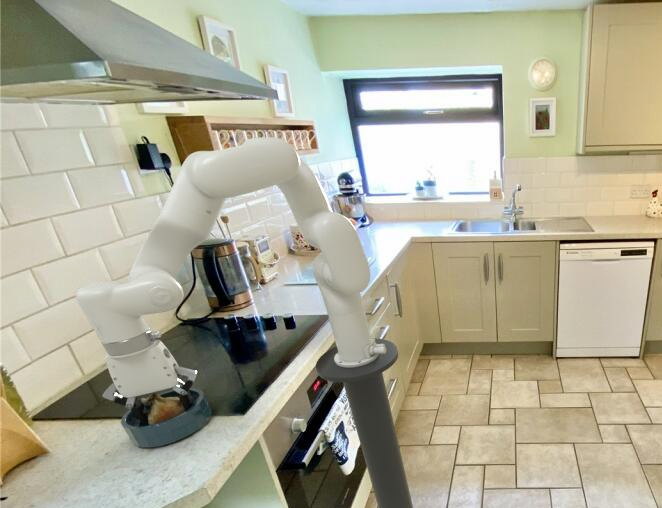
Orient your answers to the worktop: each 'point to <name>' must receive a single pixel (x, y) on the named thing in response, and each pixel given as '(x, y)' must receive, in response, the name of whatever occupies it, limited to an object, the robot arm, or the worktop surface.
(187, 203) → the robot arm
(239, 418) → the worktop surface
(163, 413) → the onion
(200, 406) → the bowl
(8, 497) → the worktop surface
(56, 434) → the worktop surface
